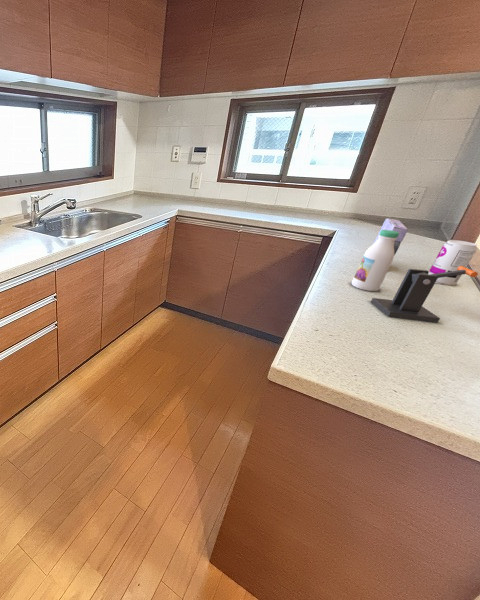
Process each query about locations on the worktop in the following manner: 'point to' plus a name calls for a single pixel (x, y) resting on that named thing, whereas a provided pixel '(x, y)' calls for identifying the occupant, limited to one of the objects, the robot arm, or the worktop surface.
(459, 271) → the switch lever
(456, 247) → the supplement can
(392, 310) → the switch base
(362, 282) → the milk bottle
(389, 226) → the cake pan box
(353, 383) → the worktop surface
